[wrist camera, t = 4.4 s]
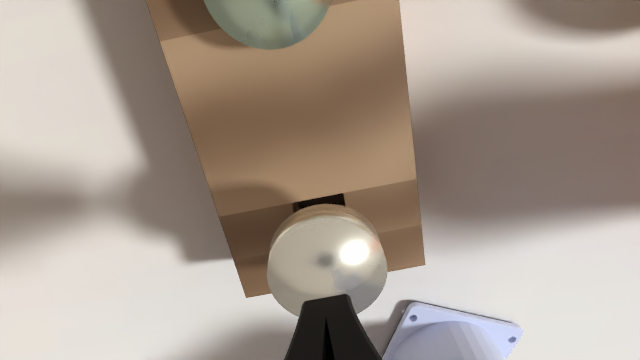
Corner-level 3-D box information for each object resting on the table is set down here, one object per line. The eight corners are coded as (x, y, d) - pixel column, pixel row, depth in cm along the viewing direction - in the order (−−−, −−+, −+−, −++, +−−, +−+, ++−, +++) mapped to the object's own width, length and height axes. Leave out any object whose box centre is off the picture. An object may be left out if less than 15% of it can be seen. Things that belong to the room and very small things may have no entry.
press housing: (407, 228, 22) (425, 265, 19) (253, 257, 23) (246, 297, 20) (365, -134, 16) (382, -170, 12) (147, -86, 16) (109, -109, 13)
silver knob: (373, 245, 19) (393, 310, 15) (286, 262, 19) (282, 330, 15) (360, 164, 18) (379, 211, 13) (264, 182, 18) (253, 235, 14)
